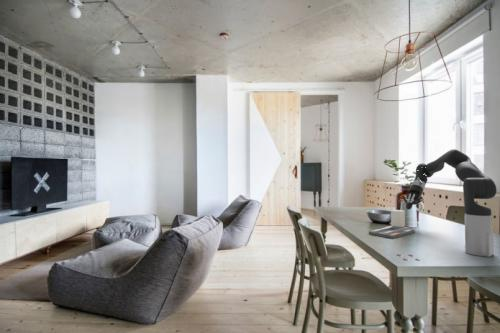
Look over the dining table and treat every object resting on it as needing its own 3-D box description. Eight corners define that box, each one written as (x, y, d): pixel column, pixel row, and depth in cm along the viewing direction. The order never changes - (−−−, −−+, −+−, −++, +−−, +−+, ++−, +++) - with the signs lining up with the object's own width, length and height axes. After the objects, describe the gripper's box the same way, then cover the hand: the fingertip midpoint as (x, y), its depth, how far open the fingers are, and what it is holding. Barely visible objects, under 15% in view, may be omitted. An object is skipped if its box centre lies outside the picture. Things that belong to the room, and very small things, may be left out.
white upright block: (405, 229, 168) (405, 210, 168) (401, 230, 165) (400, 211, 165) (395, 227, 173) (394, 209, 173) (390, 228, 170) (390, 210, 170)
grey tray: (414, 232, 166) (414, 228, 166) (392, 238, 152) (392, 233, 152) (390, 228, 178) (390, 224, 178) (368, 233, 164) (368, 229, 164)
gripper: (430, 192, 181) (421, 213, 174) (408, 191, 192) (399, 211, 185) (425, 184, 178) (416, 205, 171) (404, 184, 189) (395, 203, 182)
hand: (407, 208), depth 178 cm, fingers closed
